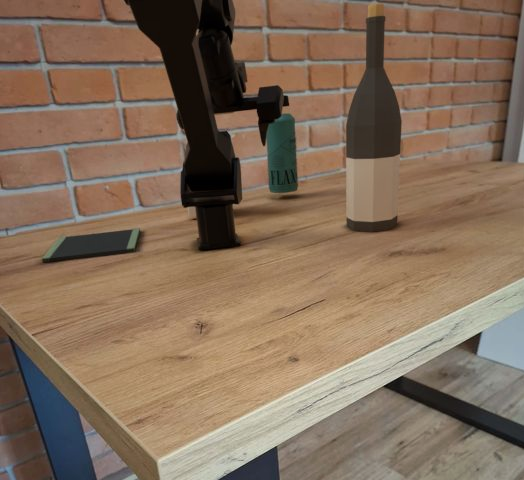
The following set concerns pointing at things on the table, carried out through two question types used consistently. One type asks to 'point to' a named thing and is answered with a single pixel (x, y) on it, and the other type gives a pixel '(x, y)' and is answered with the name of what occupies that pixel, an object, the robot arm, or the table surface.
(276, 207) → the table surface
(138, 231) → the dark square mat
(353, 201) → the wine bottle
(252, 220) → the table surface
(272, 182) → the beverage bottle
